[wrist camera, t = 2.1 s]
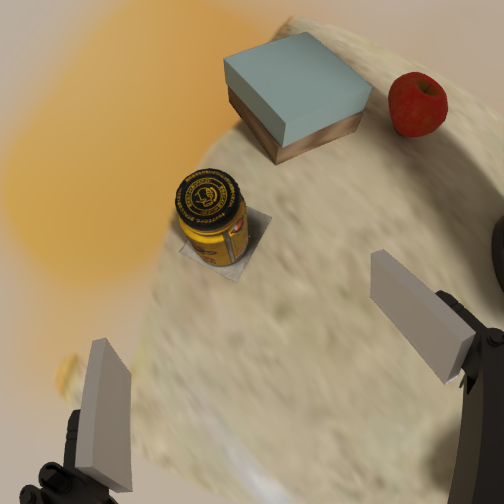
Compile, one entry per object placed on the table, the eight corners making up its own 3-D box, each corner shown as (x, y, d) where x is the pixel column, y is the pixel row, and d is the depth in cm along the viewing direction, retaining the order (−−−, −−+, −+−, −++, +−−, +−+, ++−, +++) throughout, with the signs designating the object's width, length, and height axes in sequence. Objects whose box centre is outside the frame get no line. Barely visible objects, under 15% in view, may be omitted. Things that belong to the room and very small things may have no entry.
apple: (366, 109, 41) (388, 58, 30) (409, 107, 41) (436, 62, 31) (390, 156, 39) (422, 108, 28) (434, 151, 39) (469, 109, 29)
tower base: (303, 76, 43) (307, 55, 39) (354, 133, 40) (363, 114, 36) (229, 102, 41) (227, 80, 37) (275, 167, 38) (278, 147, 34)
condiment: (180, 252, 35) (147, 212, 23) (217, 192, 37) (203, 132, 25) (236, 283, 34) (228, 255, 23) (272, 218, 36) (280, 164, 24)
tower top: (303, 54, 39) (306, 31, 34) (363, 110, 36) (372, 87, 31) (225, 83, 37) (223, 58, 33) (282, 147, 34) (285, 123, 30)
